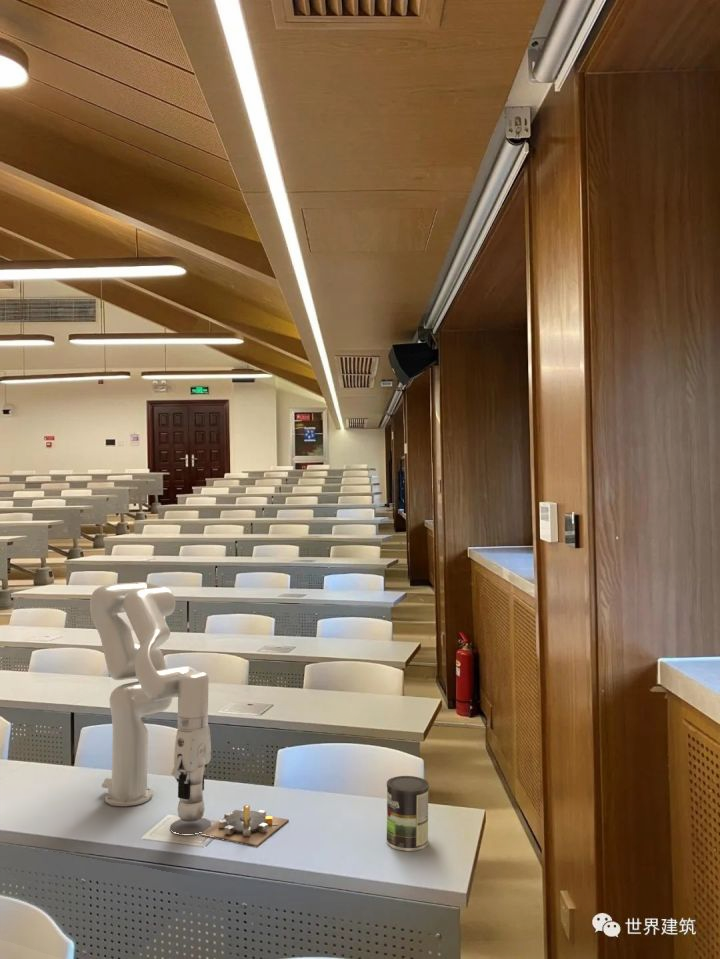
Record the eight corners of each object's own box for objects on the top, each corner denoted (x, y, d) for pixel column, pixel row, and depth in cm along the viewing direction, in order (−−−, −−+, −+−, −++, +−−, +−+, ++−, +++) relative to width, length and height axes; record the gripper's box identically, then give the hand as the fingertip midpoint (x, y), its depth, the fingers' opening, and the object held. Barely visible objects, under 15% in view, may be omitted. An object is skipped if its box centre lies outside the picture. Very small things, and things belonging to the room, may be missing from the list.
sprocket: (236, 841, 176) (237, 814, 177) (209, 823, 186) (209, 798, 187) (282, 826, 185) (282, 801, 185) (253, 810, 195) (254, 786, 195)
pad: (162, 831, 183) (162, 829, 183) (186, 816, 193) (186, 814, 193) (195, 838, 180) (195, 836, 180) (218, 823, 189) (218, 821, 189)
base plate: (200, 835, 181) (200, 832, 181) (235, 811, 196) (235, 808, 196) (257, 847, 175) (257, 844, 175) (288, 821, 190) (288, 818, 190)
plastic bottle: (197, 826, 182) (200, 744, 184) (172, 823, 184) (175, 742, 185) (208, 816, 189) (210, 736, 190) (183, 813, 190) (186, 734, 191)
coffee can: (396, 854, 172) (396, 793, 173) (379, 836, 182) (380, 778, 182) (436, 847, 176) (436, 787, 176) (417, 830, 185) (417, 773, 186)
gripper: (184, 732, 178) (182, 809, 177) (223, 715, 194) (222, 785, 193) (159, 728, 181) (157, 804, 180) (199, 711, 197) (198, 781, 196)
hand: (191, 793), depth 187 cm, fingers closed on plastic bottle, 5 cm apart
